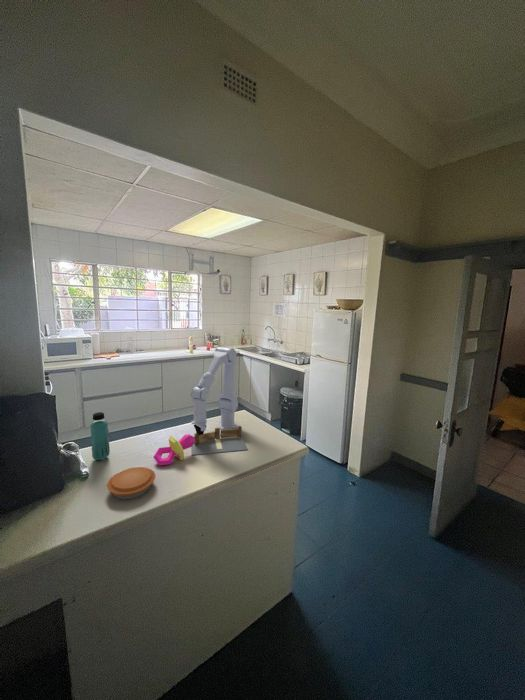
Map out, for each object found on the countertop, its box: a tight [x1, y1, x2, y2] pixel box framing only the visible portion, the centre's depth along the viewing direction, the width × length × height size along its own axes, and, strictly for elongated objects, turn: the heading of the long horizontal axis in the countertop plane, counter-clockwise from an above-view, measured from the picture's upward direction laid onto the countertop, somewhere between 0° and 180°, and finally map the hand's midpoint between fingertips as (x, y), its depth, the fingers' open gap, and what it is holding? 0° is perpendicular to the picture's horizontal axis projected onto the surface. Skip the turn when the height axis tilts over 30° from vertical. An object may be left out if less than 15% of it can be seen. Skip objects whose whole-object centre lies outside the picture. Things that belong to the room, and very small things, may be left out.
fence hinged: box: [193, 430, 215, 445], centre depth 133 cm, size 10×2×5 cm, turn 128°
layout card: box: [190, 433, 249, 456], centre depth 133 cm, size 17×25×1 cm
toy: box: [153, 433, 194, 466], centre depth 119 cm, size 10×18×10 cm, turn 132°
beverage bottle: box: [89, 411, 111, 461], centre depth 115 cm, size 6×7×20 cm
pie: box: [106, 466, 156, 501], centre depth 98 cm, size 15×16×5 cm
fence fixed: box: [214, 425, 242, 439], centre depth 139 cm, size 2×13×5 cm, turn 105°
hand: (200, 439), depth 133 cm, fingers closed
